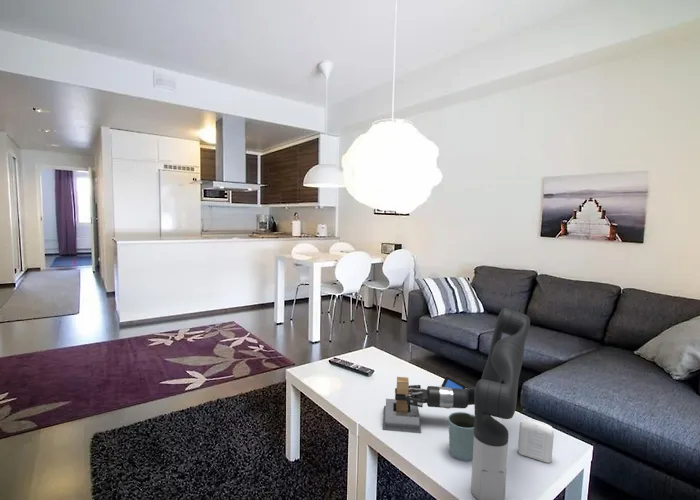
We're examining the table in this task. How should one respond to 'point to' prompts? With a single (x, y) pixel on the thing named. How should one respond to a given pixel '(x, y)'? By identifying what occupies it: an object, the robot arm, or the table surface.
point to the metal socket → (401, 418)
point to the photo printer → (535, 440)
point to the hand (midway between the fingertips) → (395, 393)
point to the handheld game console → (452, 384)
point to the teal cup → (461, 435)
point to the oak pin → (402, 389)
